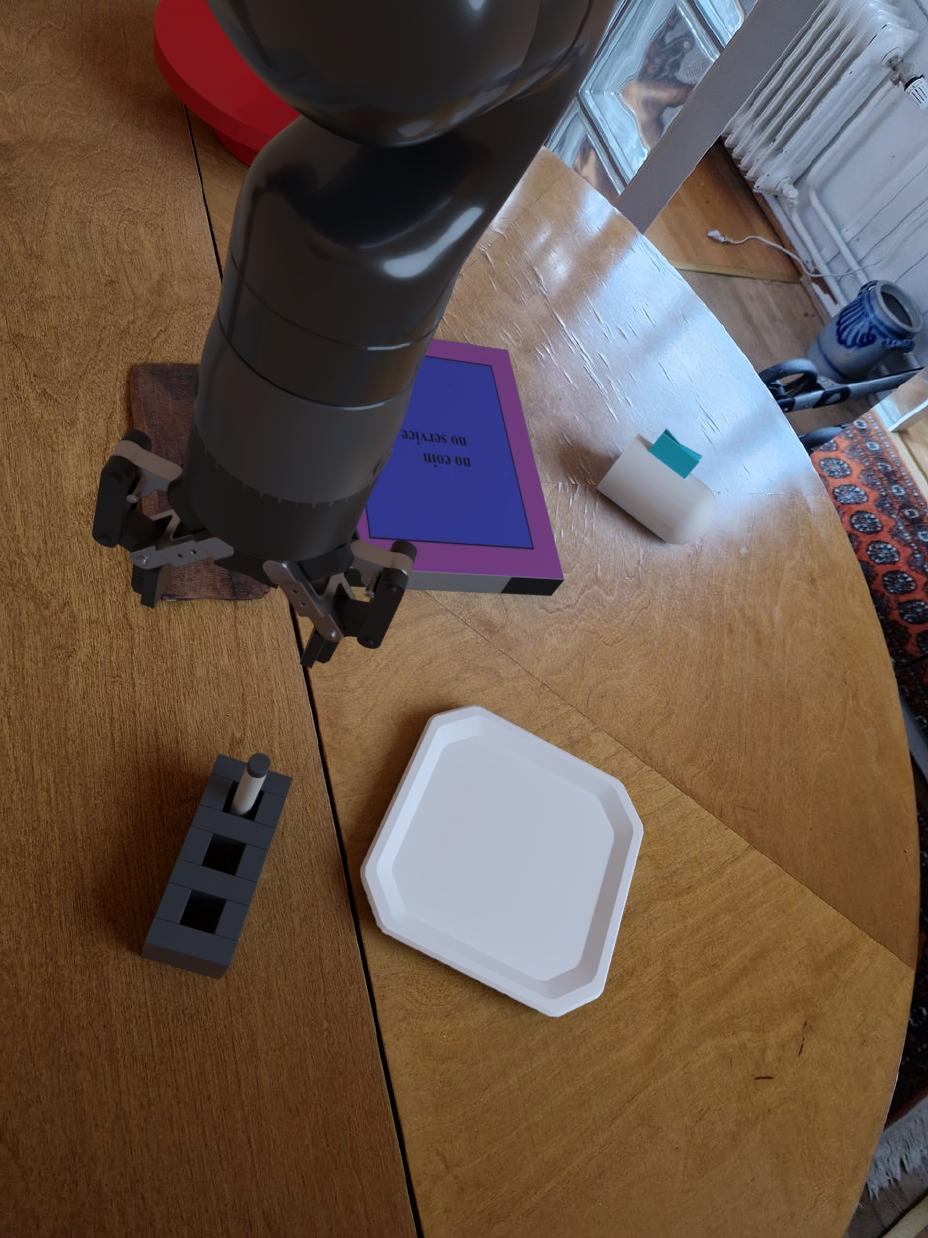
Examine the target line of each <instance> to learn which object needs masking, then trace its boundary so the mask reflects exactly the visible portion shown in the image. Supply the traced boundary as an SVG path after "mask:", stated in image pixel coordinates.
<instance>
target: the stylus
mask: <svg viewBox="0 0 928 1238" xmlns="http://www.w3.org/2000/svg"><path fill="white" fill-rule="evenodd" d="M246 763H247V766H246V768H245V771H244V773H243V776H242V779H241V781H240V784H239V786H238V789H237V791H236V794H235V796H234V799H233V802H232V804H231V805H230V806H229V809H228V812H227V813H229V814H232V815H235V816H238V817H241V818H244V819H247V820H248V817H249V814H250V813H251V812H250V810H251V808H252V806H253V804H254V801H255V799H256V797H257V795H258V793H259V790H260V788H261V786H262V784H263V781H264V779H265V777H266V775H267V773H268V770H270V768H271V764H272V763H271V759H270V757H269V756H268V755H267V754H265V753H263V752H256V753H254V754H252V755H250V757H249V759H248V761H247V762H246Z"/></svg>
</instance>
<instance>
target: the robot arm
mask: <svg viewBox="0 0 928 1238" xmlns="http://www.w3.org/2000/svg"><path fill="white" fill-rule="evenodd" d="M205 1H206V3H207V4H208V6H209V8H210V10H211V12H212V13H213V15H214V17H215V19H216V20H217V22H218V23H219V25H220V27H221V28H222V30H223V31H224V33H225V34H226V36H227V38H228V39H229V41H230V42H231V44H232V45H233V47H234V48H235V49H236V51H237V52H238V53H239V55H240V56H241V57H242V59H243V60H244V61H245V63H246V64H247V65H248V66H249V68H250V69H251V70H252V71H253V72H254V73H255V74H256V75H257V76H258V77H259V78H260V79H261V80H262V81H263V83H264V84H265V85H266V86H267V87H268V88H269V89H270V90H271V91H272V92H274V93H275V94H276V95H277V96H278V97H279V98H281V99H282V100H283V101H284V102H285V103H287V104H288V105H289V106H290V107H291V108H293V109H294V110H296V111H297V112H298V113H300V114H301V115H300V116H299V117H298V118H297V119H295V120H294V121H293V122H292V123H290V124H289V125H288V126H287V127H285V128H284V129H283V130H282V131H280V132H279V133H278V134H277V135H275V136H274V137H273V138H272V139H271V140H270V141H268V142H267V143H266V144H265V145H264V146H263V148H262V149H261V150H260V151H259V152H258V154H257V155H256V156H255V158H254V160H253V162H252V163H251V165H250V166H248V169H247V171H246V173H245V175H244V177H243V180H242V182H241V186H240V189H239V192H238V196H237V199H236V203H235V208H234V212H233V217H232V223H231V228H230V233H229V240H228V246H227V252H226V256H225V263H224V269H223V275H222V280H221V285H220V292H219V297H218V302H217V307H216V309H215V313H214V315H213V318H212V321H211V323H210V325H209V328H208V331H207V334H206V337H205V340H204V344H203V348H202V353H201V356H200V357H201V358H200V361H199V364H200V365H199V367H197V370H196V375H195V380H194V386H193V395H194V404H193V410H192V416H191V422H190V428H189V434H188V440H187V446H186V452H185V458H184V463H182V464H181V465H180V466H179V465H177V464H175V463H173V462H171V461H168V460H166V459H164V458H162V457H160V456H157V455H155V454H153V453H151V449H152V441H151V439H150V438H149V436H148V435H146V434H145V433H144V432H142V431H140V430H137V429H134V428H129V429H127V430H126V431H125V432H124V434H123V436H122V438H121V439H120V440H119V442H118V443H117V445H116V446H115V448H114V450H113V451H112V452H111V455H110V456H109V458H108V460H107V461H106V463H105V464H104V466H103V468H102V469H101V471H100V474H99V475H100V476H99V484H98V488H97V489H98V490H97V495H96V503H95V509H94V516H93V522H92V527H91V528H92V529H91V537H92V539H93V540H94V541H95V542H96V543H97V544H99V545H100V546H103V547H105V548H110V549H113V548H116V547H117V546H118V545H119V546H120V547H122V548H123V549H125V550H126V551H127V552H129V556H128V558H129V560H130V562H131V563H132V570H131V580H130V587H131V589H132V591H133V593H135V594H139V595H140V601H139V603H140V605H142V606H144V607H147V608H149V609H152V610H155V608H156V607H157V605H158V603H159V601H160V600H161V599H160V597H161V595H162V593H163V591H164V590H165V588H166V586H167V583H168V581H169V578H170V575H171V569H172V565H173V566H174V567H175V568H180V567H183V566H186V565H190V564H193V563H197V562H200V561H203V560H207V559H210V558H211V559H213V560H214V563H213V564H214V565H216V566H219V567H221V568H224V569H227V570H229V571H233V572H238V573H242V574H246V575H248V576H250V577H251V578H253V579H255V580H257V581H258V582H260V583H262V584H265V585H267V586H270V587H271V589H275V590H278V589H281V591H282V593H283V594H284V595H285V597H286V599H287V600H288V602H289V603H290V604H291V606H292V608H293V609H294V611H295V613H297V615H298V616H299V617H300V618H308V619H309V620H310V621H311V623H312V625H313V627H312V629H311V632H310V635H309V637H308V639H307V642H306V645H305V647H304V650H303V652H302V655H301V658H300V661H299V665H300V666H303V667H305V668H308V669H311V670H312V668H313V667H314V664H315V663H316V662H318V663H320V664H323V665H324V664H326V663H329V662H330V661H331V659H332V657H333V656H334V654H335V652H336V649H337V648H338V646H339V645H340V642H341V641H343V639H344V638H347V637H348V638H351V637H352V638H356V642H357V643H358V644H359V645H360V646H361V647H363V648H366V649H370V650H376V649H379V648H380V647H381V645H382V643H383V641H384V638H385V636H386V635H387V632H388V630H389V628H390V626H391V624H392V621H393V619H394V617H395V615H396V612H397V610H398V609H399V606H400V604H401V602H402V599H403V597H404V596H405V592H406V590H407V589H406V586H407V583H408V580H409V577H410V574H411V571H412V567H413V564H414V561H415V558H416V555H417V548H416V547H415V546H414V545H413V544H412V543H410V542H408V541H404V540H398V541H395V542H394V543H393V544H392V546H391V549H390V551H389V550H386V549H383V548H381V547H378V546H375V545H372V544H370V543H367V542H364V541H362V540H360V535H359V532H358V529H357V524H358V522H359V520H360V517H361V515H362V513H363V511H364V509H365V506H366V504H367V502H368V500H369V498H370V495H371V493H372V491H373V489H374V486H375V484H376V482H377V480H378V478H379V475H380V473H381V471H382V470H383V469H384V467H385V466H386V465H387V463H388V461H389V460H390V458H391V455H392V454H391V453H392V451H393V445H394V442H395V440H396V438H397V436H398V434H399V431H400V429H401V427H402V424H403V422H404V419H405V416H406V413H407V410H408V406H409V403H410V399H411V394H412V390H413V386H414V382H415V379H416V377H417V374H418V371H419V368H420V366H421V364H422V361H423V359H424V357H425V355H426V352H427V350H428V348H429V346H430V343H431V341H432V339H433V338H434V337H435V334H436V332H437V330H438V327H439V325H440V323H441V321H442V320H443V317H444V316H445V315H444V314H445V312H446V310H447V308H448V305H449V303H450V299H451V297H452V295H453V291H454V289H455V286H456V283H457V280H458V277H459V275H460V273H461V271H462V269H463V267H464V265H465V263H466V262H467V260H468V258H469V257H470V256H471V253H472V252H473V250H474V249H475V247H476V246H477V244H478V242H479V241H480V239H481V238H482V237H483V235H484V234H485V232H486V231H487V229H488V228H489V226H490V225H491V224H492V222H493V221H494V219H495V218H496V216H497V215H498V214H499V213H500V211H501V209H502V208H503V206H504V205H505V204H506V203H507V201H508V199H509V198H510V197H511V196H512V194H513V192H514V191H515V189H516V187H517V186H518V184H519V183H520V182H521V180H522V178H523V176H524V175H525V174H526V172H527V171H528V169H529V168H530V166H531V164H532V163H533V161H534V159H535V158H536V156H537V155H538V153H539V152H540V150H541V149H542V148H543V146H544V144H545V143H546V141H547V139H548V138H549V136H550V135H551V133H552V131H553V130H554V128H555V126H556V125H557V123H558V122H559V121H560V118H561V117H562V116H563V114H564V112H565V111H566V109H567V108H568V105H569V104H570V103H571V100H572V99H573V97H574V95H575V94H576V92H577V90H578V88H579V86H580V85H581V83H582V81H584V78H585V77H586V74H587V73H588V70H589V68H590V66H591V65H592V62H593V61H594V59H595V57H596V54H597V52H598V50H599V48H600V47H601V44H602V41H603V39H604V38H605V35H606V32H607V30H608V28H609V25H610V23H611V20H612V17H613V15H614V12H615V9H616V6H617V5H618V4H617V3H618V0H205ZM156 490H162V491H166V492H167V499H168V502H169V504H170V506H171V507H172V509H171V510H168V511H165V512H162V513H159V514H156V515H153V516H152V517H151V518H149V517H147V516H146V515H144V514H143V512H141V511H140V510H139V508H140V504H141V501H142V497H149V496H150V495H151V494H152V492H153V491H156ZM350 567H353V568H355V569H356V570H358V571H359V573H360V574H361V581H362V583H363V585H364V586H365V587H364V588H365V590H364V596H365V597H366V598H369V601H364V600H359V599H357V596H356V595H355V593H354V591H353V589H352V587H350V586H349V584H348V582H347V581H346V579H345V577H344V573H343V572H345V571H346V570H348V569H349V568H350Z"/></svg>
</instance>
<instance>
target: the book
mask: <svg viewBox="0 0 928 1238" xmlns="http://www.w3.org/2000/svg"><path fill="white" fill-rule="evenodd" d="M512 365H513V364H512V361H511V357H510V352H509V350H508V349H504V348H498V347H497V348H496V347H491V346H486V345H479V344H478V345H477V344H472V343H465V342H459V341H453V340H448V339H441V338H440V339H439V338H434V337H433V339H432V341H431V343H430V346H429V348H428V350H427V352H426V355H425V357H424V359H423V361H422V364H421V366H420V368H419V371H418V374H417V377H416V379H415V382H414V386H413V390H412V394H411V399H410V403H409V406H408V410H407V413H406V416H405V419H404V422H403V424H402V427H401V429H400V431H399V434H398V436H397V438H396V440H395V442H394V445H393V451H392V453H391V454H392V455H391V458H390V460H389V461H388V463H387V465H386V466H385V467H384V469H383V470H382V471H381V473H380V475H379V478H378V480H377V482H376V484H375V486H374V489H373V491H372V493H371V495H370V498H369V500H368V502H367V504H366V506H365V509H364V511H363V513H362V515H361V517H360V520H359V522H358V524H357V529H358V532H359V535H360V540H362V541H364V542H367V543H370V544H372V545H375V546H378V547H381V548H383V549H386V550H389V551H390V549H391V546H392V544H393V543H394V542H395V541H398V540H404V541H408V542H410V543H412V544H413V545H414V546H415V547H416V548H417V555H416V558H415V561H414V564H413V567H412V571H411V574H410V577H409V580H408V583H407V586H406V590H417V591H435V592H437V591H439V592H458V593H459V592H462V593H478V594H479V593H481V594H503V595H526V596H542V597H543V596H544V597H545V596H547V597H552V596H553V594H554V593H555V592H556V591H557V590H558V588H559V587H560V586H561V585H562V584H563V582H564V581H565V577H564V573H563V569H562V564H561V560H560V556H559V552H558V547H557V543H556V540H555V536H554V535H555V534H554V531H553V528H552V527H553V526H552V523H551V520H550V519H551V518H550V515H549V511H548V507H547V503H546V499H545V495H544V491H543V486H542V482H541V478H540V475H539V470H538V467H537V463H536V459H535V453H534V450H533V446H532V442H531V438H530V437H531V436H530V434H529V429H528V426H527V421H526V417H525V413H524V408H523V406H522V402H521V397H520V393H519V389H518V385H517V381H516V377H515V373H514V368H513V366H512ZM343 573H344V577H345V579H346V581H347V582H348V584H349V586H350V588H366V587H365V586H364V585H363V583H362V581H361V574H360V573H359V571H358V570H356V569H355V568H353V567H350V568H349V569H348V570H346V571H345V572H343Z"/></svg>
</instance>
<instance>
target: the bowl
mask: <svg viewBox="0 0 928 1238" xmlns="http://www.w3.org/2000/svg"><path fill="white" fill-rule="evenodd" d="M152 50H153V55H154V59H155V62H156V66H157V67H158V70H159V72H160V73H161V75H162V78H163V79H164V81H165V82H166V84H167V85H168V86H169V88H170V89H171V91H172V92H173V93H174V95H176V96H177V97H178V99H179V100H180V101H181V102H182V103H183V104H184V105H185V106H186V107H187V108H188V109H189V110H190V111H192V112H193V113H194V114H195V115H197V117H199V118H200V119H201V120H202V121H204V122H205V123H207V124H208V125H209V126H211V127H212V128H213V130H214V132H215V134H216V135H217V136H216V137H217V138H218V139H219V142H220V143H221V144H222V145H223V146H224V147H225V149H226V150H227V151H228V152H230V153H231V154H232V155H233V156H234V157H236V158H237V159H238V160H239V161H240V162H241V163H243V164H244V165H246V166H247V167H250V165H251V163H252V162H253V160H254V158H255V156H256V155H257V154H258V152H259V151H260V150H261V149H262V148H263V146H264V145H265V144H266V143H267V142H268V141H270V140H271V139H272V138H273V137H274V136H275V135H277V134H278V133H279V132H280V131H282V130H283V129H284V128H285V127H287V126H288V125H289V124H290V123H292V122H293V121H294V120H295V119H297V118H298V117H299V116H300V115H301V114H300V113H298V112H297V111H296V110H294V109H293V108H291V107H290V106H289V105H288V104H287V103H285V102H284V101H283V100H282V99H281V98H279V97H278V96H277V95H276V94H275V93H274V92H272V91H271V90H270V89H269V88H268V87H267V86H266V85H265V84H264V83H263V81H262V80H261V79H260V78H259V77H258V76H257V75H256V74H255V73H254V72H253V71H252V70H251V69H250V68H249V66H248V65H247V64H246V63H245V61H244V60H243V59H242V57H241V56H240V55H239V53H238V52H237V51H236V49H235V48H234V47H233V45H232V44H231V42H230V41H229V39H228V38H227V36H226V34H225V33H224V31H223V30H222V28H221V27H220V25H219V23H218V22H217V20H216V19H215V17H214V15H213V13H212V12H211V10H210V8H209V6H208V4H207V3H206V1H205V0H160V1H159V3H158V5H157V7H156V9H155V14H154V19H153V37H152Z"/></svg>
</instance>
